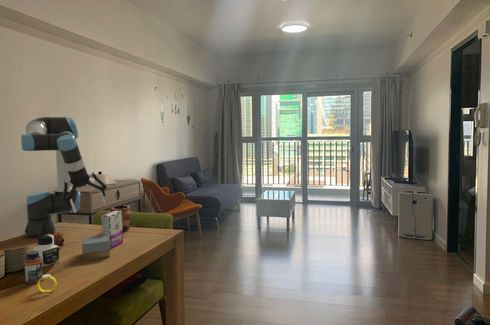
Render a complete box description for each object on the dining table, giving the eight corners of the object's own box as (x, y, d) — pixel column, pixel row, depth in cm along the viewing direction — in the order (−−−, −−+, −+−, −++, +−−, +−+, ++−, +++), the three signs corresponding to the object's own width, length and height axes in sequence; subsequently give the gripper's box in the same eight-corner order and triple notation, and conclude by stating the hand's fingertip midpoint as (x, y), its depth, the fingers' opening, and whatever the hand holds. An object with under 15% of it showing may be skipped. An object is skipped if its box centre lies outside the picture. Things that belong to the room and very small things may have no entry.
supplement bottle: (30, 278, 140) (28, 249, 139) (46, 277, 140) (44, 249, 139) (21, 284, 134) (20, 254, 133) (38, 284, 134) (37, 254, 133)
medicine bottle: (43, 267, 152) (41, 239, 151) (34, 263, 155) (32, 236, 154) (59, 261, 158) (58, 234, 157) (50, 259, 161) (49, 232, 160)
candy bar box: (114, 242, 186) (113, 210, 185) (123, 242, 185) (122, 210, 184) (101, 248, 175) (100, 215, 174) (111, 249, 174) (110, 215, 173)
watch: (37, 294, 126) (35, 278, 126) (40, 291, 129) (38, 275, 128) (55, 292, 127) (53, 275, 127) (58, 288, 130) (56, 272, 129)
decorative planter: (129, 235, 199) (128, 210, 198) (105, 236, 197) (104, 210, 196) (134, 225, 219) (133, 203, 218) (112, 226, 217) (112, 203, 216)
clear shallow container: (82, 254, 169) (82, 246, 168) (107, 251, 173) (107, 242, 173) (83, 262, 159) (82, 253, 159) (109, 258, 164) (109, 249, 163)
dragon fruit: (66, 252, 175) (40, 257, 174) (68, 238, 182) (43, 243, 180) (60, 241, 170) (32, 246, 168) (62, 227, 176) (36, 232, 174)
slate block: (82, 246, 168) (82, 237, 168) (107, 242, 173) (107, 234, 173) (83, 253, 158) (82, 244, 158) (109, 249, 163) (109, 240, 163)
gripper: (46, 180, 158) (62, 219, 168) (105, 163, 167) (117, 201, 177) (46, 173, 164) (61, 211, 174) (102, 157, 173) (114, 194, 183)
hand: (89, 206), depth 175 cm, fingers open, 13 cm apart
